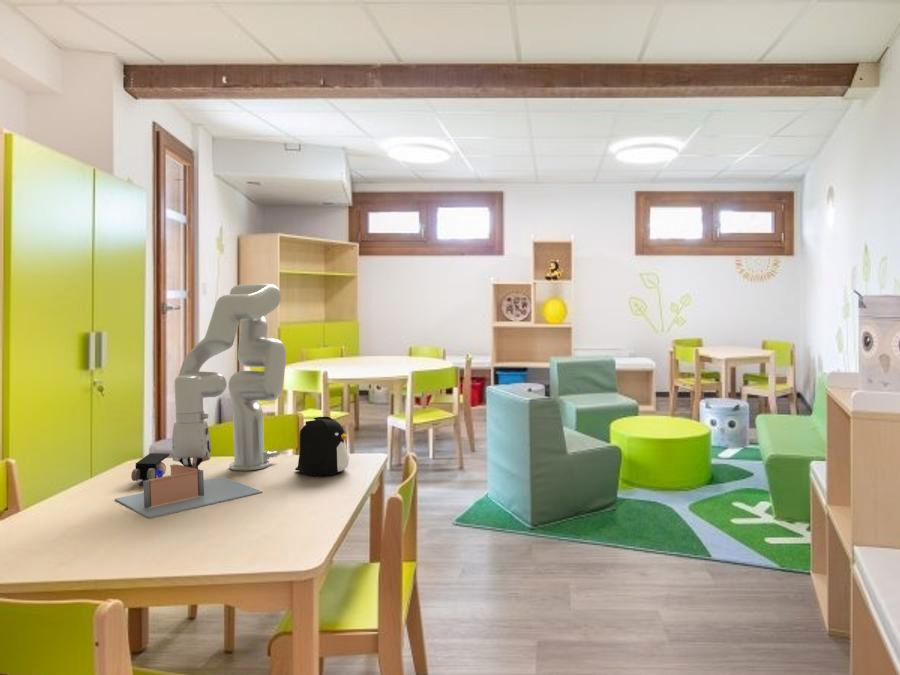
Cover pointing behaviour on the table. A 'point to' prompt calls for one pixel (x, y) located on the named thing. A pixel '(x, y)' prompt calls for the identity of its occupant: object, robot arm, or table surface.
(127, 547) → the table surface
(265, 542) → the table surface
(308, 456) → the penguin
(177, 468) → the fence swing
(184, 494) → the fence fixed
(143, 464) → the black toy car
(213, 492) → the card
